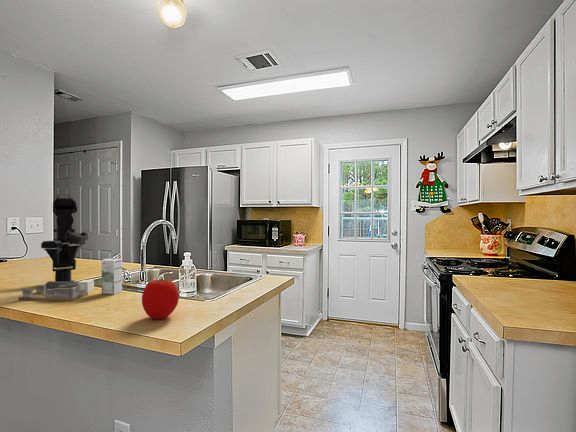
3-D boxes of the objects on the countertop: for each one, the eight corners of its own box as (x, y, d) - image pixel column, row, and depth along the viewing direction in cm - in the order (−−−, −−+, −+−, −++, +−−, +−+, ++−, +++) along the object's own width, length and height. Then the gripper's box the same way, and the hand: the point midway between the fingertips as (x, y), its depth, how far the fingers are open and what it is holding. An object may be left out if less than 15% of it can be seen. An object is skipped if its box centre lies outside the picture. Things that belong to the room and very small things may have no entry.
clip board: (37, 294, 132) (37, 283, 132) (87, 294, 132) (87, 284, 131) (18, 300, 123) (18, 288, 123) (72, 300, 123) (72, 289, 122)
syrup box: (122, 291, 138) (122, 257, 137) (113, 295, 132) (113, 259, 132) (110, 291, 138) (110, 257, 138) (100, 294, 132) (100, 259, 132)
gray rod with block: (44, 292, 136) (44, 281, 136) (52, 289, 140) (52, 279, 140) (87, 292, 135) (87, 282, 135) (94, 290, 140) (94, 280, 140)
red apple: (134, 318, 103) (134, 279, 103) (164, 310, 112) (164, 274, 112) (155, 326, 97) (155, 283, 97) (185, 316, 106) (185, 277, 106)
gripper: (67, 227, 128) (67, 266, 128) (96, 226, 147) (96, 260, 147) (40, 227, 128) (40, 266, 128) (72, 226, 147) (72, 260, 147)
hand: (64, 263), depth 138 cm, fingers open, 9 cm apart
